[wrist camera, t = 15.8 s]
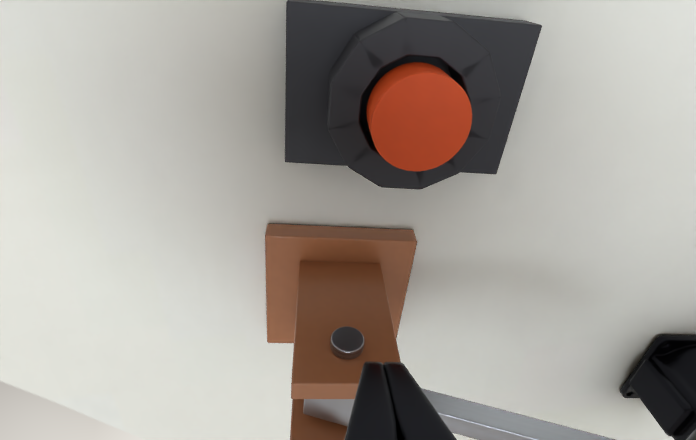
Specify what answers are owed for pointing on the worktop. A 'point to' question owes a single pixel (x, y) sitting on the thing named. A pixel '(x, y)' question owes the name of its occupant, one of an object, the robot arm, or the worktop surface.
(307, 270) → the brown lever base bracket
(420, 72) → the button
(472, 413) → the lever
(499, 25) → the control block
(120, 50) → the worktop surface
